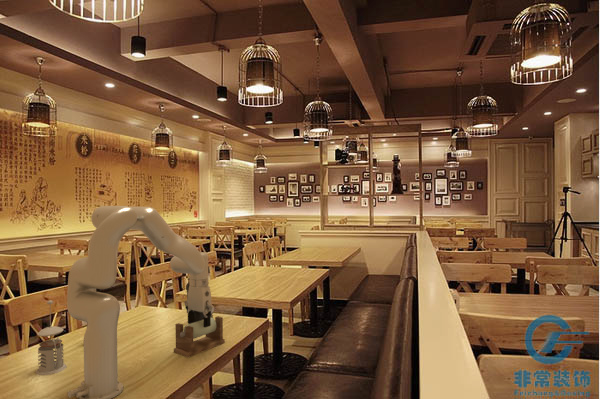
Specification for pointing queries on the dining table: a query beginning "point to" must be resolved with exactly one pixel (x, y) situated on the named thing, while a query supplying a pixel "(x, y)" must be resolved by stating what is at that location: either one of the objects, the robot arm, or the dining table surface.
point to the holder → (191, 347)
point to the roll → (200, 328)
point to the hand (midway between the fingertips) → (199, 324)
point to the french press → (50, 351)
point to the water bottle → (198, 315)
